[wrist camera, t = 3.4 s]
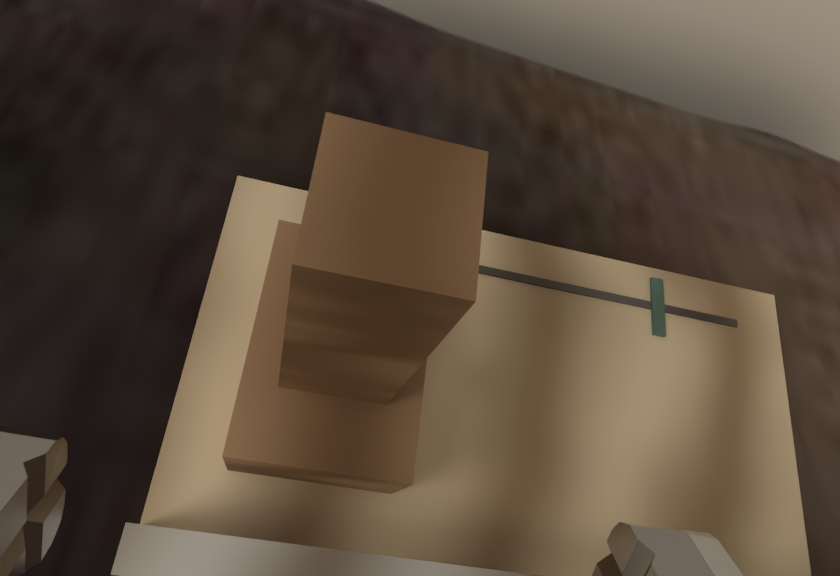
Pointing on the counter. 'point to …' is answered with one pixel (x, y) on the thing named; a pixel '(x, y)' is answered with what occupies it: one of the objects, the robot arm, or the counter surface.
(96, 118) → the counter surface
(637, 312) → the birch board
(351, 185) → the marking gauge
